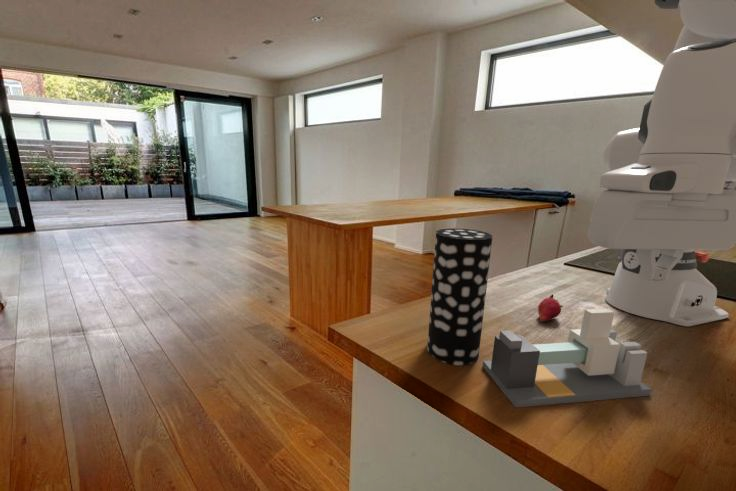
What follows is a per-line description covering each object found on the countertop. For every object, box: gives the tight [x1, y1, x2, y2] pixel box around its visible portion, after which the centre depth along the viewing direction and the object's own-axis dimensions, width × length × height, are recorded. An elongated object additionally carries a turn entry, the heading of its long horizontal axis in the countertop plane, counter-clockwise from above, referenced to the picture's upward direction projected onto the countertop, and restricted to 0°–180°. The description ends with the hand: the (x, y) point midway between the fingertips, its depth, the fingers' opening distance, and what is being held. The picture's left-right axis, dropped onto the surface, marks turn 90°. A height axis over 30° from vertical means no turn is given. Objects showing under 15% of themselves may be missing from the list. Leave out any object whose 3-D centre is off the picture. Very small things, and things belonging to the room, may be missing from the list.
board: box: [482, 359, 652, 408], centre depth 49 cm, size 20×9×1 cm, turn 99°
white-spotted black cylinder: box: [427, 227, 493, 366], centre depth 54 cm, size 8×8×20 cm
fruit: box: [537, 294, 564, 323], centre depth 68 cm, size 4×6×5 cm
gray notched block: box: [608, 328, 648, 386], centre depth 50 cm, size 2×7×6 cm, turn 9°
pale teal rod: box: [533, 341, 588, 365], centre depth 48 cm, size 16×2×2 cm, turn 99°
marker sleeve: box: [567, 308, 620, 376], centre depth 48 cm, size 4×5×9 cm
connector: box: [491, 329, 540, 389], centre depth 47 cm, size 4×4×7 cm
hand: (652, 279), depth 47 cm, fingers closed
